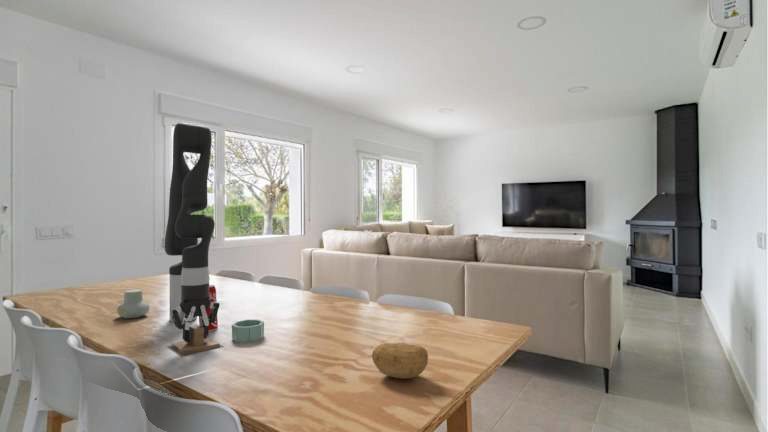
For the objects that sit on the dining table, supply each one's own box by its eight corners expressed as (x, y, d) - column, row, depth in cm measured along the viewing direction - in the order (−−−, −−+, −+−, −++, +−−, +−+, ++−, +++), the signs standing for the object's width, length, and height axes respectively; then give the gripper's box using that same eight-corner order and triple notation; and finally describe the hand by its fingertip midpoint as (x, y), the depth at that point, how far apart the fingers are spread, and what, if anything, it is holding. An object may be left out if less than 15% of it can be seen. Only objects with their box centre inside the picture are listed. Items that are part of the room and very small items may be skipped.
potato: (379, 366, 107) (379, 335, 106) (432, 373, 102) (432, 341, 102) (365, 380, 97) (365, 347, 97) (422, 389, 93) (422, 354, 93)
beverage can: (211, 333, 135) (210, 288, 135) (193, 332, 137) (193, 287, 137) (221, 328, 141) (221, 284, 141) (204, 327, 143) (204, 284, 142)
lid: (171, 346, 121) (171, 326, 121) (206, 339, 128) (205, 320, 128) (184, 355, 114) (183, 333, 113) (219, 346, 121) (219, 326, 121)
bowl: (228, 339, 129) (228, 323, 129) (254, 333, 136) (254, 318, 135) (241, 345, 123) (241, 329, 123) (268, 339, 129) (268, 323, 129)
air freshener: (152, 316, 157) (151, 290, 157) (129, 321, 150) (129, 294, 150) (137, 312, 163) (137, 287, 163) (114, 317, 156) (114, 291, 156)
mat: (166, 348, 121) (166, 346, 121) (207, 339, 129) (207, 337, 129) (181, 358, 112) (181, 356, 112) (224, 348, 121) (224, 346, 121)
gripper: (214, 277, 128) (214, 332, 128) (164, 283, 118) (165, 342, 118) (224, 280, 123) (224, 337, 123) (174, 286, 113) (174, 348, 113)
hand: (195, 339), depth 121 cm, fingers open, 4 cm apart
